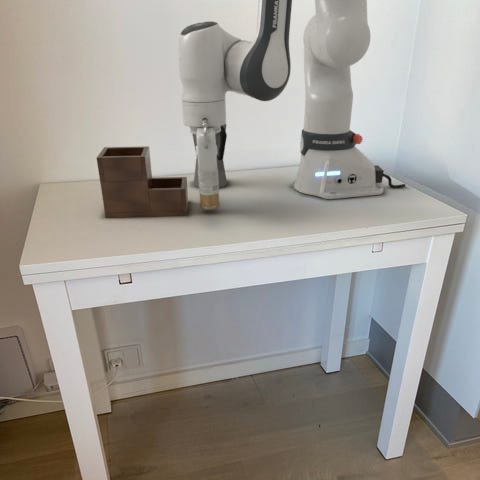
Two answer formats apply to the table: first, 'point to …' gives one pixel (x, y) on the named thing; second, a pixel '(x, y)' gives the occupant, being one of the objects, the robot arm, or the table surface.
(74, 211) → the table surface
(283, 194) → the table surface
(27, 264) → the table surface
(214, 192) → the sprinkles bottle
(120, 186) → the caddy
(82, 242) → the table surface
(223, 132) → the coffeepot
